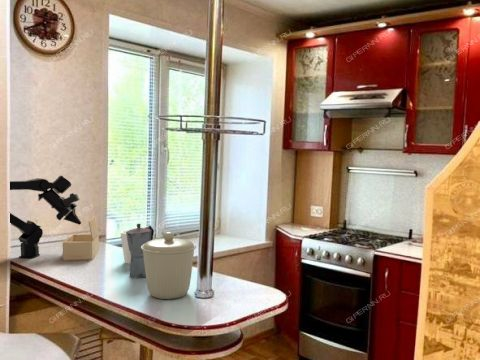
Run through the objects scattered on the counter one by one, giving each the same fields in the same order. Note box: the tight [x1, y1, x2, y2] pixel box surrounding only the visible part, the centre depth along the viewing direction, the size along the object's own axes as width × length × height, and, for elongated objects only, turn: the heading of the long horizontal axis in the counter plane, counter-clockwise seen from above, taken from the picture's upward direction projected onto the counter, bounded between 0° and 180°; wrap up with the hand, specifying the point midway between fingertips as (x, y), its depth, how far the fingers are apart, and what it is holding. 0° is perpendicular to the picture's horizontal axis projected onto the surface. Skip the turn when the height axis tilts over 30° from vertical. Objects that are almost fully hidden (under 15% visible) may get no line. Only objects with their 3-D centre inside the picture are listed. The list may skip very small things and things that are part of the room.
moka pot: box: [126, 223, 155, 279], centre depth 175 cm, size 10×15×20 cm, turn 158°
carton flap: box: [88, 215, 100, 240], centre depth 205 cm, size 8×16×1 cm
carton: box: [62, 233, 100, 262], centre depth 205 cm, size 12×19×8 cm, turn 9°
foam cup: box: [120, 229, 131, 265], centre depth 194 cm, size 10×9×13 cm
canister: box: [141, 231, 197, 300], centre depth 151 cm, size 18×18×21 cm
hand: (80, 223), depth 210 cm, fingers closed
